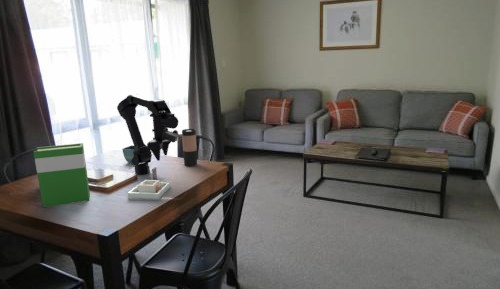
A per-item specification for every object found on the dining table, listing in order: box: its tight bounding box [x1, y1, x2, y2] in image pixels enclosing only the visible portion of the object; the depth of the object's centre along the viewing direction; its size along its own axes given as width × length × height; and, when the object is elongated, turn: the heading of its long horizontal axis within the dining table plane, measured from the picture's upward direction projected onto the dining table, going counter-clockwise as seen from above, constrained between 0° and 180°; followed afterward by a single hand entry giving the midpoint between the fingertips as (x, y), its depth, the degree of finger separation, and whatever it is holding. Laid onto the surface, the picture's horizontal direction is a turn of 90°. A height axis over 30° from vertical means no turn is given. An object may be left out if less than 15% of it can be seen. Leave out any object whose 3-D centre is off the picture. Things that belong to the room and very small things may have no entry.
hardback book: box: [33, 142, 91, 208], centre depth 152 cm, size 18×7×24 cm, turn 111°
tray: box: [127, 181, 171, 201], centre depth 160 cm, size 14×14×3 cm
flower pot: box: [122, 144, 134, 164], centre depth 209 cm, size 9×9×9 cm
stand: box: [147, 166, 170, 183], centre depth 174 cm, size 10×10×7 cm
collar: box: [137, 179, 163, 193], centre depth 160 cm, size 7×9×4 cm
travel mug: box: [181, 128, 198, 167], centre depth 201 cm, size 8×8×20 cm
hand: (162, 157), depth 174 cm, fingers open, 9 cm apart
